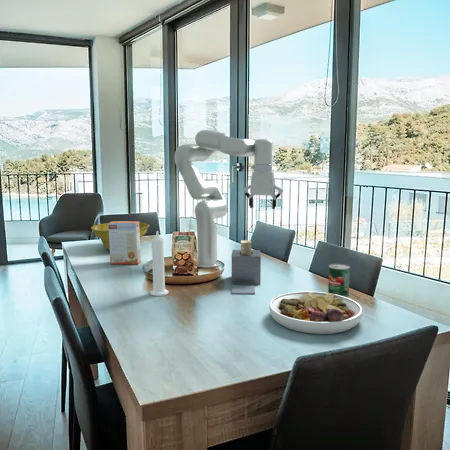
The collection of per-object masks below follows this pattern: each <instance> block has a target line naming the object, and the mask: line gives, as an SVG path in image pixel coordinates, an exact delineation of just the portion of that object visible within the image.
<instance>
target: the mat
mask: <svg viewBox="0 0 450 450" xmlns="http://www.w3.org/2000/svg"><path fill="white" fill-rule="evenodd" d="M231 288H232V289H231V295H256V288H255V285H232V287H231Z"/></svg>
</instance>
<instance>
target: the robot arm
mask: <svg viewBox="0 0 450 450" xmlns="http://www.w3.org/2000/svg"><path fill="white" fill-rule="evenodd" d="M194 141H195V143H185V144H182V145H181V144H180V145H179V146H178V147H177V149H176V150H175V152H174V163H175V166H176V168H177V169H178V171H179V173H180V175H181V176H182V179H183V182H184V184H185V186H186V188H187V190H188V193H189V195H190V197H191V198H192V199H193V200H196V201H198V200H199V202H198V203H196V205H195V207H194V214H195V215H194V216H195V220H196V231H197V232H196V235H197V243H196V244H197V254H198V263H199V264H198V266H197V267H198V268H205V269H206V268H207V269H208V268H217V267H219V266H220V265H221V263H220V264H218V265H216V264H215V263H216V261H217V260H218V231H217V230H218V229H217V228H218V227H217V225H216V222H215V219H221V218H224V217H225V216H226V215H227V213H228V205H227V202H226V200H225V197H224V195H223V193H222V190H221V189H220V186H219V185H218V183H217V182H216V181H214V180H213V179H203V177H202V175H201V174H200V170H199V169H198V167H196V165H194V164H193V162H204V161H206V160H208V159H209V158H210V157H211V156H213V154H214V153H216V152H219V153H222V154H224V155H225V154H226V155H230V156H234V157H254V161H253V162H254V164H253V165H251V166H250V169H252V170H253V171H252V172H251V178H250V185H247V186H245V187H244V188H242V190H243V193H244V195H245V196H246V197H247V199H248V206H249V209H252V208H254V196H271V198H272V200H271V205H272V206H271V209H272V210H275V209H276V207H277V199H278V198H280V197H281V195H282V193H283V192H284V189H283V188H282V187H279V186H278V185H276V183H275V181H276V180H275V174H274V171H273V141H272V139H267V138H262V139H261V138H258V139H255V138H240V137H239V138H236V137H233V136H232V137H231V136H229V135H228V133H225V132H220V131H218V130H214V129H213V130H211V129H202V130H200V131H198V132H197V133H196V134H195V136H194ZM248 190H249V191H250V193H249V192H248ZM276 190H277V191H278V193H277V194H275V193H276Z"/></svg>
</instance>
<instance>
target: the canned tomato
mask: <svg viewBox="0 0 450 450" xmlns="http://www.w3.org/2000/svg"><path fill="white" fill-rule="evenodd" d="M350 269H351V266H350V265H348V264H345V263H344V264H343V263H332V264H329V265H328V288H327V289H328V292H327V293H331V294H336V295H340V296H343V297H348V296H349V295H350V271H351V270H350Z"/></svg>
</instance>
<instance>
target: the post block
mask: <svg viewBox="0 0 450 450" xmlns="http://www.w3.org/2000/svg"><path fill="white" fill-rule="evenodd" d="M261 259H262V257H261V249H251V255H241V249H232V251H231V285H260V286H261V280H262V279H261V272H262V270H261V269H262V267H261V264H262V263H261Z"/></svg>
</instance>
